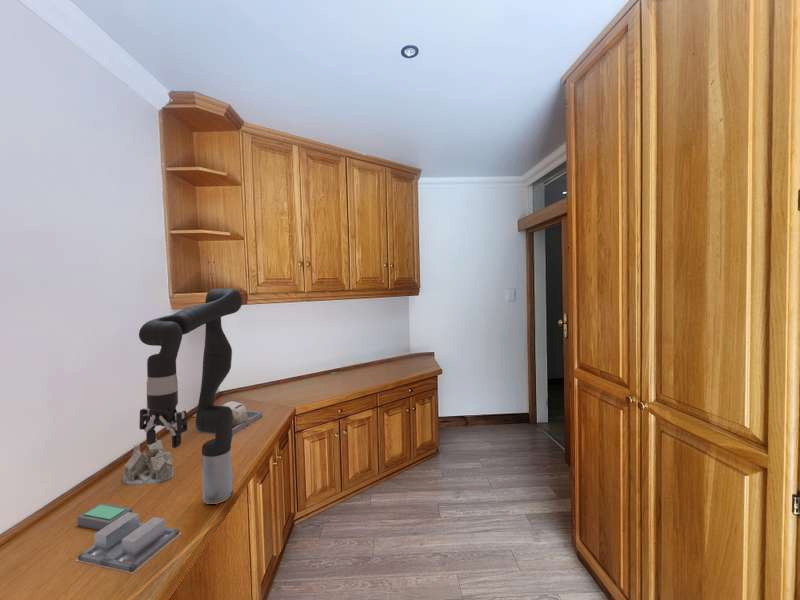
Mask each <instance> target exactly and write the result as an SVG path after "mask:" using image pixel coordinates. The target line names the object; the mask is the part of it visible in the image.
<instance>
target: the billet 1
mask: <svg viewBox="0 0 800 600" xmlns="http://www.w3.org/2000/svg"><path fill="white" fill-rule="evenodd" d="M139 522H140V514H139V513H136V512H132V513H131V512H127V513H126V514H124V515H123V516H121V517H119V518H118V519H116V520H115V521H113V522H112V523H110V524H109V525H107V526H106V527H104V528H103V529H101V530H98V531H96V532H95V533H94V545H95V554H96V555H100V556H105V557H106V556H107V555H109V554H110V553H111V552H113V551H114V550H116V549H117V548H118V547H120V546H121V545H122V539H123V538H124V537H126V536H127V535H129V534H130V533H132V532H133V531H134V530H136V529H137V528H139Z"/></svg>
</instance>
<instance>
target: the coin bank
mask: <svg viewBox="0 0 800 600" xmlns="http://www.w3.org/2000/svg"><path fill="white" fill-rule="evenodd" d="M222 406H227V407H230V408H231V410H232V413H233V428H235V427H236V426H238V425H240V424H241V423H243V422H245V421H247V420H248V416H247V411H248V410H247V407H246V406H245V405H244V404H242V403H240V402H238V401H233V400H231V401H227V402H225V403H223V405H222ZM233 428H232V429H233Z"/></svg>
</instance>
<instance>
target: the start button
mask: <svg viewBox="0 0 800 600" xmlns="http://www.w3.org/2000/svg"><path fill="white" fill-rule="evenodd" d="M98 505H99V504H98ZM124 511H125V509H120V508H115V507H109V506H104V505H99V506H98V507H96V508H94V509H93V510H91V511H89V512H87V511H86V512H87V513H86V514H84V515H85V516H88V517H93V518H99V519H104V520H109V521H110V520H112V519H113V518H115V517H116V516H118V515H120V514H121V513H123V512H124Z"/></svg>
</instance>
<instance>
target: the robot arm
mask: <svg viewBox="0 0 800 600" xmlns="http://www.w3.org/2000/svg"><path fill="white" fill-rule="evenodd" d="M242 306H243V296H242V294H241V293H240V292H239V290H237V289H234V288H212V289H211V288H210V289H209V291H208V292H207V293H206V296H205V303H200V304H196V305H192V306H188V307H186V308H184V309H182V310H179V311H177V312H175V313H173V314H170V315H165V316H160V317H158V318H154V319H151V320H149V321H146V322H145V323H144V324H143V325H142V326H141V327H140V329H139V332H138V337H139V340H140V341H141V342H142V343H143V344H144V345H147V346H152V347H154V346H156V347H160V349H159V352H158V353H154V354H151V355H149V357H147V359H146V360H147V361H146V362H147V364H146V369H147V370H146V371H147V374H146V377H147V380H146V407H144V408H142V409H140V410H139V430H144V432H145V434H146V445H147V444H148V445H151V444H153V443H155V442H156V438H157V436H156V435H157V434H156V428H157V427H159V426H161V427H165V428H166V430H168V431H169V432H170V434H171V448H173V449H177V448H178V447H180V445H181V444H182V434H183V433H185V432H187V431H188V421H187V420H188V416H187V410H182V411H178V410H177V405H178V404H179V389H178V386H179V385H178V383H179V382H178V376H177V357H178V353H179V351H180V348H181V347H180V346H181V344H182V339H183V335H187V334H188V333H190V332H192V331H194V330H196V329H198V328H199V327H202V326H203V325H205V334H204V335H205V336H204V349H203V356H202V357H203V358H202V373H201V384H200V393H199V398H198V404H197V410H196V416H195V429H196V428H197V430H198V431H199V432H198V433H200V432H204V433H203V434H209V433H216V434H214V436H215V437H214V438H211V439H209V440H207V441H206V442H204V443H203V444H202V446H201V463H202V464H201V466H202V467H201V470H202V471H201V475H202V476H201V477H202V479H201V481H202V503H203V502H205V503H209V504H211V503H217V502H220V501H223V500H225V499H227V498H229V497H230V496H231V497H232V493H231V491H232V490H233V491H234V482H233V481H234V476H233V474H234V472H233V470H234V469H233V468H234V467H233V466H232V440H233V435H232V429H233V413H232V410H231V408H230V407H227V406H223V405H215V398H216V395H217V391H218V389H219V387H220V386H221V385H222V383H223V382H224V380H225V379H226V377H227V376H228V374H229V373H230V371H231V368H232V358H233V357H232V356H233V349H232V346H231V344H230V341H229V340H228V338H227V336H226V334H225V333H224V330H223V326H222V317H224V316H225V317H226V316H228V315H233V314H236V313H237V312H239V310H240V309H241V308H242ZM231 497H230V498H231ZM230 498H229V499H230Z"/></svg>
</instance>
